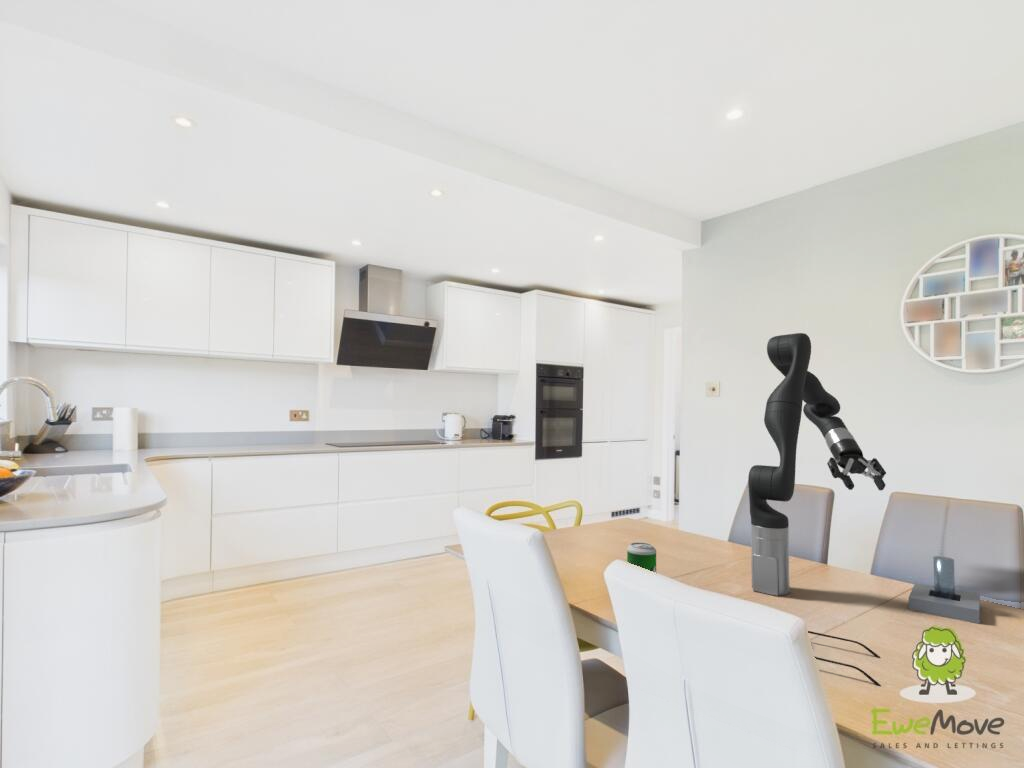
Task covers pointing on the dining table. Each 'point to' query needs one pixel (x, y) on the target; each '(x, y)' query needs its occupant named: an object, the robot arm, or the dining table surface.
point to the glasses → (847, 664)
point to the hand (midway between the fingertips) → (867, 488)
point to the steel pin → (944, 578)
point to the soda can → (642, 555)
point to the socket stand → (945, 603)
